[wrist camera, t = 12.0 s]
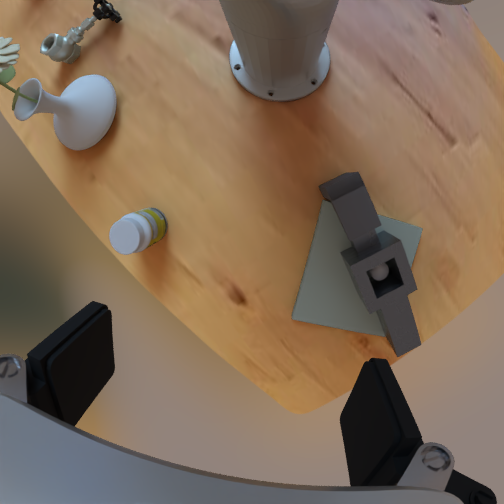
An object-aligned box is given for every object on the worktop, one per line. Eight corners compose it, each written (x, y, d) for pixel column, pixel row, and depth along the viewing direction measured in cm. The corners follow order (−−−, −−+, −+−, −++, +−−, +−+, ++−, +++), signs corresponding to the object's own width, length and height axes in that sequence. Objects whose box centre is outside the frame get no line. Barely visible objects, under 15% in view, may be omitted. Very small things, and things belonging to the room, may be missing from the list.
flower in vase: (131, 127, 37) (-14, 98, 13) (71, 163, 39) (-68, 174, 15) (109, 55, 34) (-10, -6, 10) (54, 94, 36) (-69, 70, 12)
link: (325, 221, 37) (334, 230, 31) (370, 199, 35) (386, 204, 30) (375, 339, 40) (387, 362, 34) (414, 319, 39) (430, 339, 33)
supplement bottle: (139, 242, 41) (109, 258, 33) (134, 209, 40) (103, 218, 32) (170, 240, 40) (145, 257, 32) (166, 205, 39) (139, 214, 31)
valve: (69, 75, 35) (127, 24, 33) (44, 66, 29) (106, 7, 27) (58, 52, 34) (112, 3, 32) (34, 42, 28) (92, -13, 26)
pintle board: (322, 165, 36) (330, 164, 30) (426, 197, 36) (448, 202, 30) (284, 313, 41) (285, 336, 35) (382, 332, 41) (395, 355, 35)
